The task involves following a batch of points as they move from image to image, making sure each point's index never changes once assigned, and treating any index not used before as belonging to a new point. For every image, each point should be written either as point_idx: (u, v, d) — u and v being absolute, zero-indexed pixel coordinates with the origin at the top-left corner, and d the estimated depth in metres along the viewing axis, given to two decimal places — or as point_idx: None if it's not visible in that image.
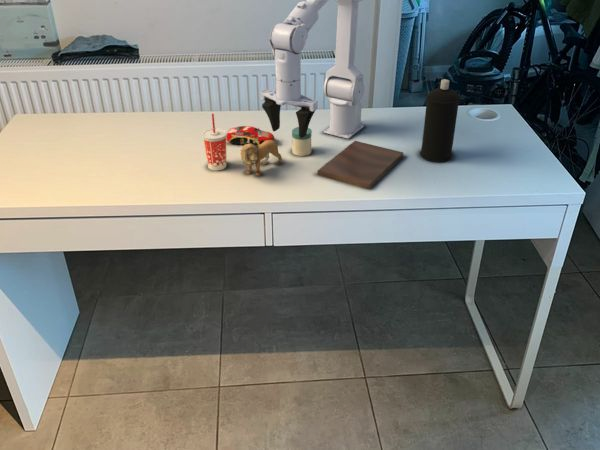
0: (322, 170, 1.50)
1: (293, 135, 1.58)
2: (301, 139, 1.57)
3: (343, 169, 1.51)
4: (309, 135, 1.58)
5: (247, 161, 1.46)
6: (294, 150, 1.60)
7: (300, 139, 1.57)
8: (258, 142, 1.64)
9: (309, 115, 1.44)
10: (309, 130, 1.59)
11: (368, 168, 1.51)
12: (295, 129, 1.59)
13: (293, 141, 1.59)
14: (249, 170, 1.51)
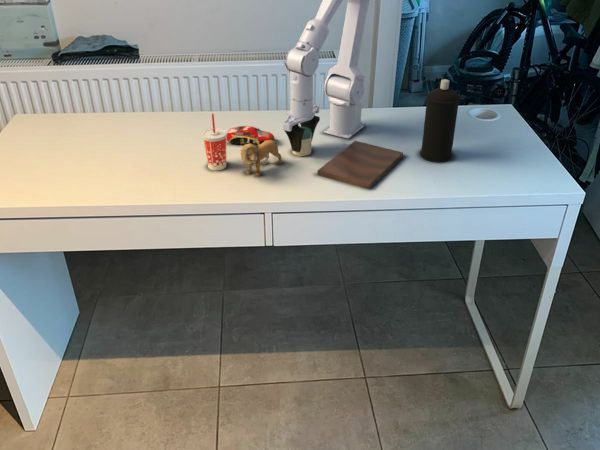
0: (322, 170, 1.50)
1: None
2: None
3: (343, 169, 1.51)
4: (309, 135, 1.58)
5: (247, 161, 1.46)
6: None
7: None
8: (258, 142, 1.64)
9: None
10: (309, 130, 1.59)
11: (368, 168, 1.51)
12: None
13: None
14: (249, 170, 1.51)
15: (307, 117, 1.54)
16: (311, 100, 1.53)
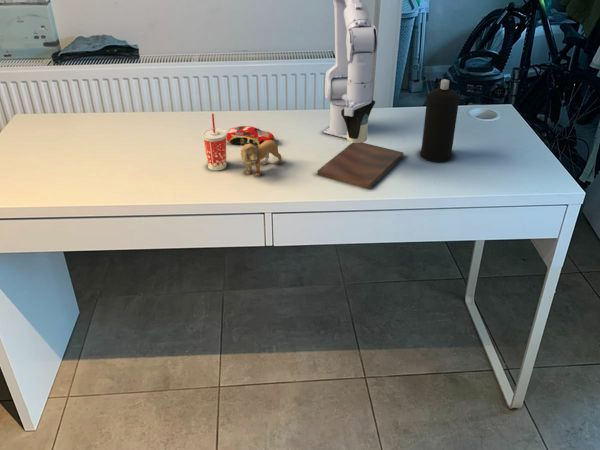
0: (322, 170, 1.50)
1: None
2: None
3: (343, 169, 1.51)
4: (367, 120, 1.48)
5: (247, 161, 1.46)
6: (350, 138, 1.50)
7: None
8: (258, 142, 1.64)
9: None
10: (365, 115, 1.49)
11: (368, 168, 1.51)
12: None
13: None
14: (249, 170, 1.51)
15: (367, 100, 1.44)
16: (371, 82, 1.43)
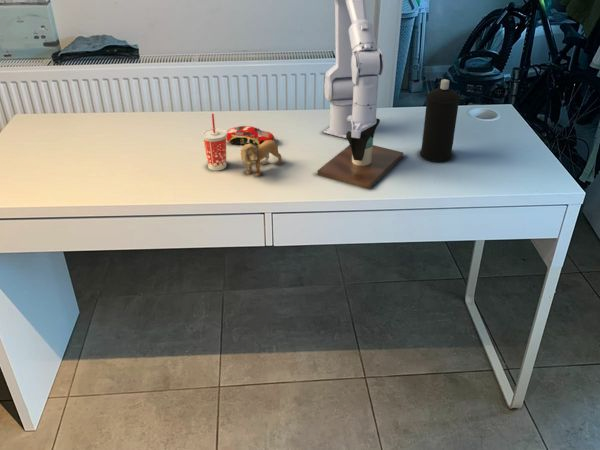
0: (322, 170, 1.50)
1: None
2: (365, 148, 1.50)
3: (343, 169, 1.51)
4: (372, 143, 1.50)
5: (247, 161, 1.46)
6: (355, 160, 1.52)
7: None
8: (258, 142, 1.64)
9: None
10: (370, 138, 1.51)
11: (368, 168, 1.51)
12: None
13: None
14: (249, 170, 1.51)
15: (372, 122, 1.46)
16: (376, 104, 1.45)
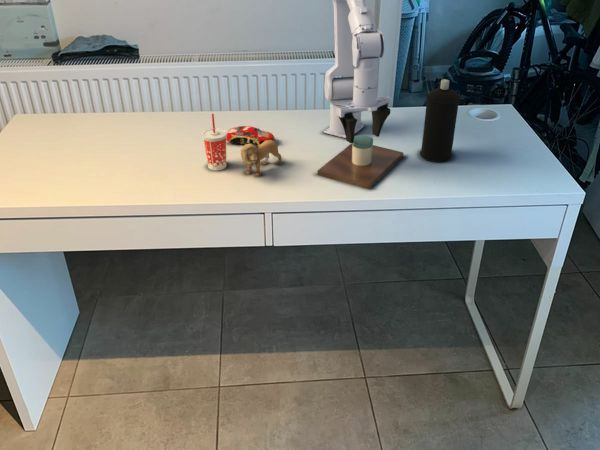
0: (322, 170, 1.50)
1: (355, 145, 1.50)
2: (365, 148, 1.50)
3: (343, 169, 1.51)
4: (372, 143, 1.50)
5: (247, 161, 1.46)
6: (355, 160, 1.52)
7: (364, 148, 1.50)
8: (258, 142, 1.64)
9: None
10: (370, 138, 1.51)
11: (368, 168, 1.51)
12: (355, 138, 1.51)
13: (356, 151, 1.51)
14: (249, 170, 1.51)
15: None
16: None
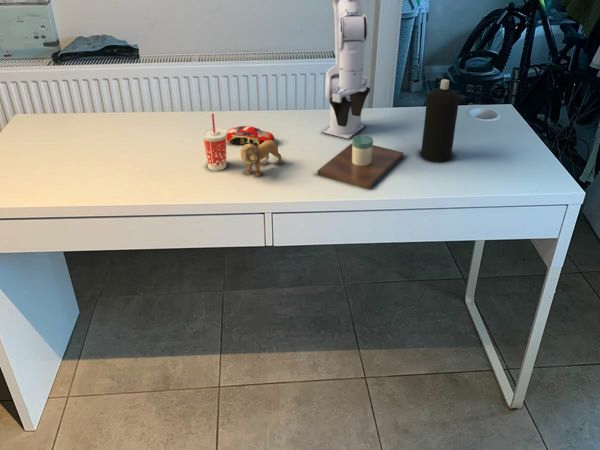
0: (322, 170, 1.50)
1: (355, 145, 1.50)
2: (365, 148, 1.50)
3: (343, 169, 1.51)
4: (372, 143, 1.50)
5: (247, 161, 1.46)
6: (355, 160, 1.52)
7: (364, 148, 1.50)
8: (258, 142, 1.64)
9: None
10: (370, 138, 1.51)
11: (368, 168, 1.51)
12: (355, 138, 1.51)
13: (356, 151, 1.51)
14: (249, 170, 1.51)
15: None
16: None
